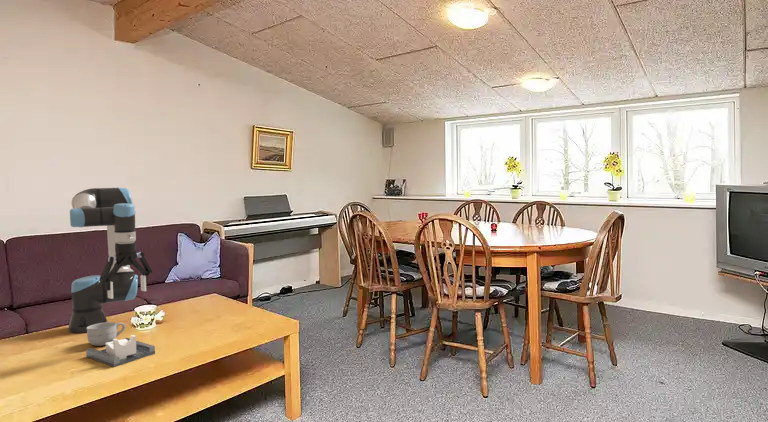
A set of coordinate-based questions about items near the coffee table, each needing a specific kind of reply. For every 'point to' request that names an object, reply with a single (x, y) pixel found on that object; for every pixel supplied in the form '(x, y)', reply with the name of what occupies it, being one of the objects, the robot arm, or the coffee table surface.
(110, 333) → the teacup
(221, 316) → the coffee table surface
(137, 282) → the robot arm
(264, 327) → the coffee table surface
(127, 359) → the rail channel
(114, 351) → the bracket
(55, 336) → the coffee table surface
